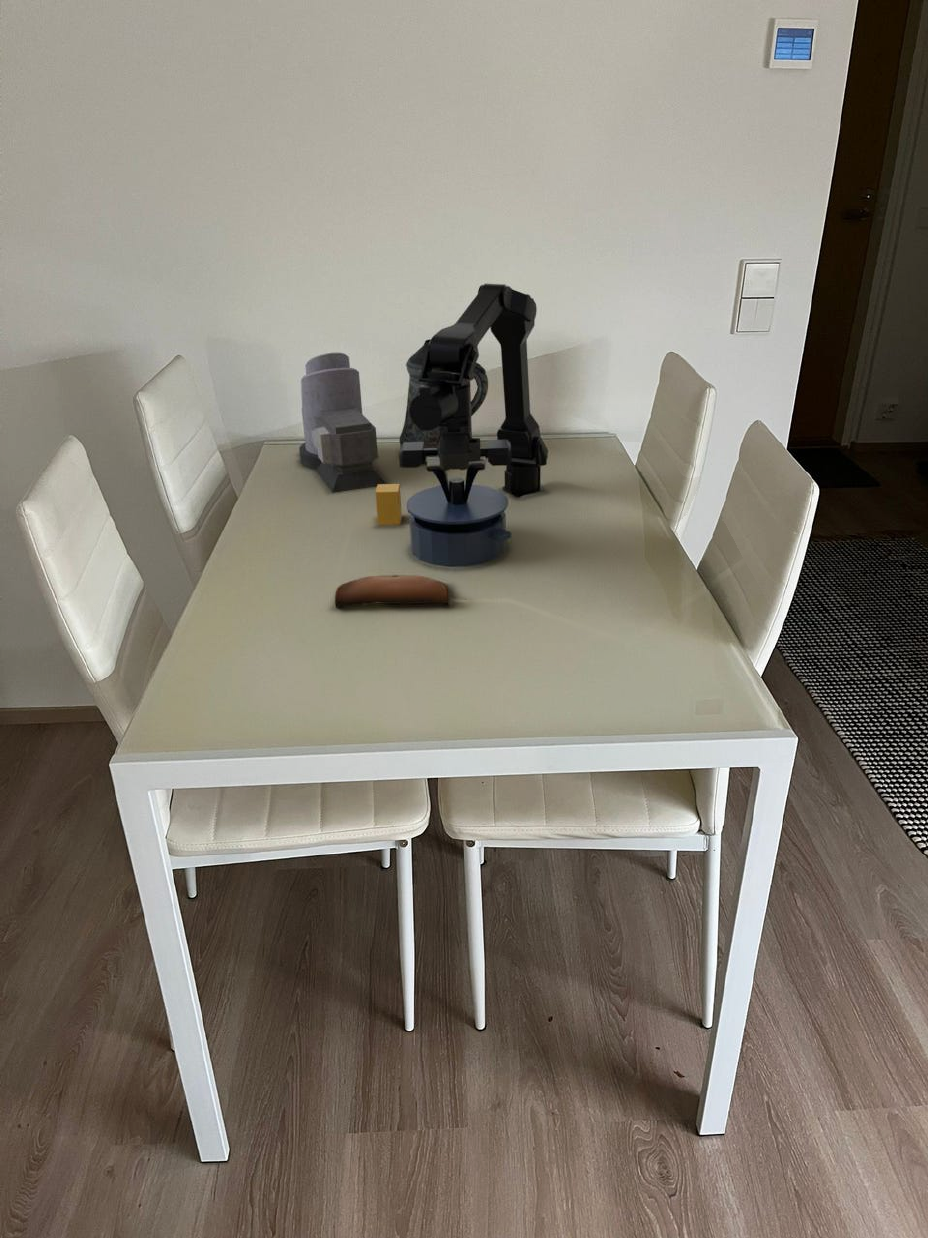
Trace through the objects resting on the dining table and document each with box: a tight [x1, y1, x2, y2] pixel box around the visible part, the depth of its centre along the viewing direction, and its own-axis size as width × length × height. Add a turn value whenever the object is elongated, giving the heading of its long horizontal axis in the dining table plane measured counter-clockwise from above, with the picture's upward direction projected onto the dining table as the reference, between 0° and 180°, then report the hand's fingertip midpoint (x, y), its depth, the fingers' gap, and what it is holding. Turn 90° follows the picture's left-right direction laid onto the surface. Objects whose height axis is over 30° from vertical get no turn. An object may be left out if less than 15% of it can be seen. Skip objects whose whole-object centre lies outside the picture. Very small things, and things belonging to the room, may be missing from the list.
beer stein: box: [399, 338, 489, 465], centre depth 212 cm, size 16×19×25 cm
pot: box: [408, 511, 512, 568], centre depth 169 cm, size 17×22×6 cm
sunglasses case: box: [334, 574, 450, 608], centre depth 154 cm, size 18×7×7 cm, turn 90°
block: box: [375, 483, 403, 526], centre depth 181 cm, size 4×4×7 cm
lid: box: [406, 477, 509, 524], centre depth 166 cm, size 18×18×5 cm
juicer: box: [298, 352, 388, 493], centre depth 206 cm, size 30×16×24 cm, turn 20°
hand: (457, 501), depth 166 cm, fingers closed on lid, 3 cm apart
